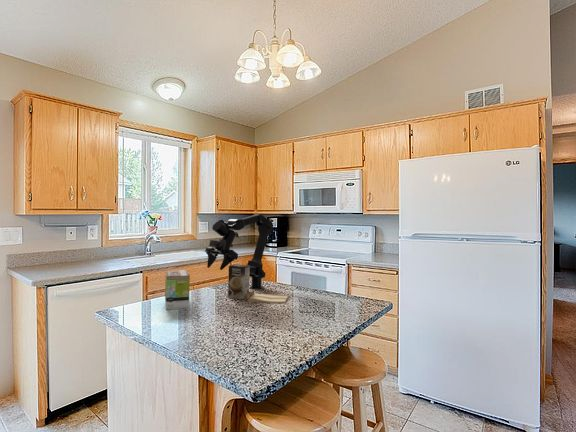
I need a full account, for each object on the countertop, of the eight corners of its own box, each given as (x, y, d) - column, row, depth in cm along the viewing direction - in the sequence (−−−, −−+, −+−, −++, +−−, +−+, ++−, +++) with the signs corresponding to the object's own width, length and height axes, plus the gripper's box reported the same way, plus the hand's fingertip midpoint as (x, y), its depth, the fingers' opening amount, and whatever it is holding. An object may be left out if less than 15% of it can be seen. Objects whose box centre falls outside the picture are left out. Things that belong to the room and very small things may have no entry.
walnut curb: (251, 294, 172) (251, 289, 172) (254, 294, 172) (254, 289, 172) (244, 301, 158) (244, 296, 158) (247, 301, 158) (247, 296, 158)
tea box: (189, 308, 146) (190, 274, 146) (165, 310, 142) (165, 276, 142) (186, 299, 160) (187, 269, 160) (164, 301, 156) (165, 270, 156)
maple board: (253, 295, 171) (253, 293, 171) (288, 296, 168) (288, 295, 168) (247, 301, 158) (247, 300, 158) (284, 303, 155) (284, 301, 155)
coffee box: (227, 297, 164) (227, 265, 164) (233, 294, 170) (233, 263, 170) (244, 299, 162) (244, 266, 161) (249, 296, 168) (250, 264, 168)
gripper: (204, 231, 169) (190, 259, 162) (230, 233, 158) (216, 263, 151) (218, 242, 176) (205, 269, 170) (244, 244, 165) (231, 273, 158)
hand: (214, 268), depth 162 cm, fingers open, 9 cm apart
